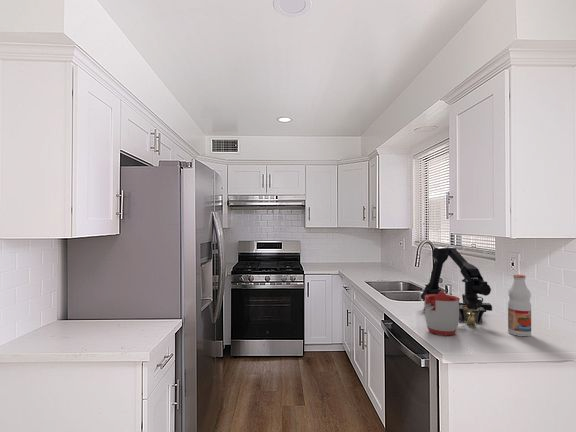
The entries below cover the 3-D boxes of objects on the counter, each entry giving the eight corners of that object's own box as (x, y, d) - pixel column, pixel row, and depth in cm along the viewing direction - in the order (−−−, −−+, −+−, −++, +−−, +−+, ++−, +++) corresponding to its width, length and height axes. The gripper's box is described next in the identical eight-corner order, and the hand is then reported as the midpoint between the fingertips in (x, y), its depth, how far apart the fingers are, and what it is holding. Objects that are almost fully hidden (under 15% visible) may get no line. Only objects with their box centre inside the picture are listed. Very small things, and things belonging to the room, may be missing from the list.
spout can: (466, 323, 193) (466, 309, 193) (474, 324, 191) (474, 310, 192) (467, 325, 189) (467, 311, 189) (475, 326, 188) (475, 311, 188)
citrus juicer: (414, 330, 181) (414, 289, 181) (441, 326, 188) (441, 287, 188) (439, 339, 167) (439, 295, 167) (467, 335, 174) (467, 292, 174)
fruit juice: (516, 330, 182) (516, 273, 182) (535, 335, 173) (535, 275, 174) (503, 332, 178) (503, 274, 178) (523, 338, 169) (522, 277, 170)
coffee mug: (462, 312, 217) (462, 295, 217) (461, 309, 225) (461, 292, 225) (484, 314, 213) (484, 297, 213) (483, 311, 221) (483, 294, 221)
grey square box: (455, 314, 211) (455, 301, 211) (479, 317, 207) (479, 303, 207) (457, 320, 200) (457, 306, 200) (482, 322, 196) (482, 308, 196)
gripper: (452, 293, 186) (452, 324, 186) (494, 296, 180) (494, 328, 180) (450, 289, 197) (450, 318, 197) (490, 292, 190) (490, 322, 190)
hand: (471, 322), depth 190 cm, fingers open, 6 cm apart
